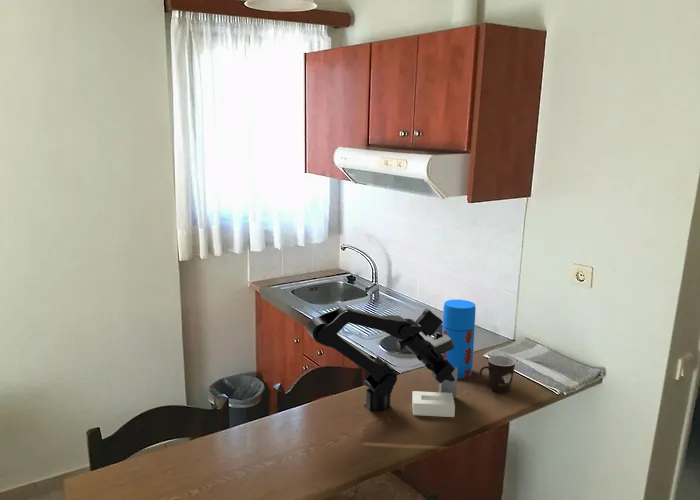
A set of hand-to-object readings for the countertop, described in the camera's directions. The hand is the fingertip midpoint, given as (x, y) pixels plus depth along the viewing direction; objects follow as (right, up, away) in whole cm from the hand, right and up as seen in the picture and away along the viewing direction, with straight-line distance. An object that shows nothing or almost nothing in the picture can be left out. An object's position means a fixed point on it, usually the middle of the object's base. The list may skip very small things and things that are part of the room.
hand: (452, 378), depth 175 cm
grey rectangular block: (-1, -6, +1) cm, 6 cm away
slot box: (-7, -8, -6) cm, 13 cm away
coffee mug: (+16, -6, +10) cm, 19 cm away
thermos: (+5, -3, +23) cm, 23 cm away
